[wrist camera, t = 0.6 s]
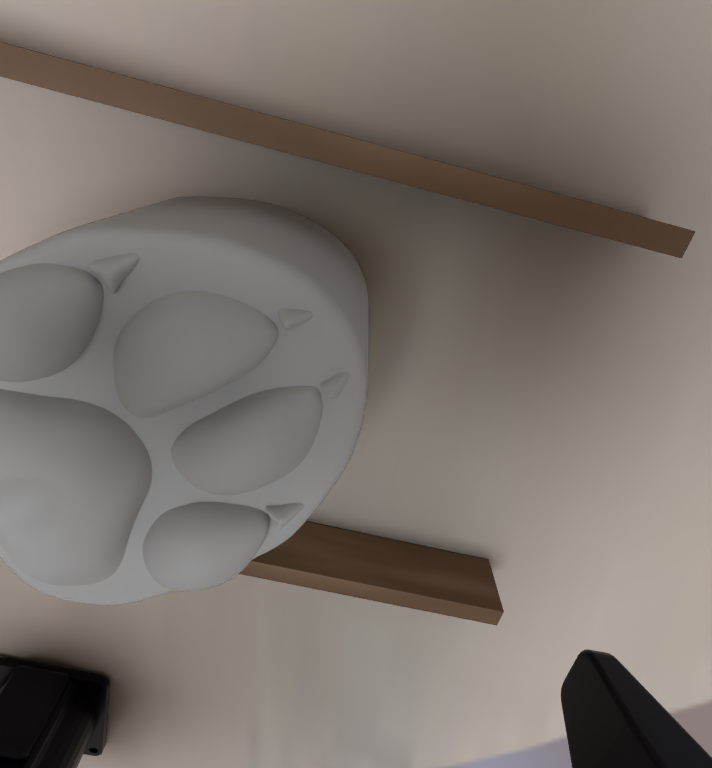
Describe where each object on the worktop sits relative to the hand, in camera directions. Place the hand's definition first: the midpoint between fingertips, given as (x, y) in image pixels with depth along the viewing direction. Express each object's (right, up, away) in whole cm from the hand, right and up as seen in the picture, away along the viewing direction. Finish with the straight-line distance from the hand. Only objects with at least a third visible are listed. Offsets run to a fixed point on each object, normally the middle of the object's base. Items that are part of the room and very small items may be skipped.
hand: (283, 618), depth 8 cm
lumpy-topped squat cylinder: (-5, +5, +13) cm, 15 cm away
